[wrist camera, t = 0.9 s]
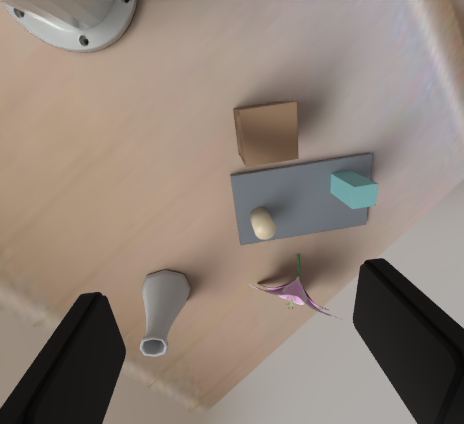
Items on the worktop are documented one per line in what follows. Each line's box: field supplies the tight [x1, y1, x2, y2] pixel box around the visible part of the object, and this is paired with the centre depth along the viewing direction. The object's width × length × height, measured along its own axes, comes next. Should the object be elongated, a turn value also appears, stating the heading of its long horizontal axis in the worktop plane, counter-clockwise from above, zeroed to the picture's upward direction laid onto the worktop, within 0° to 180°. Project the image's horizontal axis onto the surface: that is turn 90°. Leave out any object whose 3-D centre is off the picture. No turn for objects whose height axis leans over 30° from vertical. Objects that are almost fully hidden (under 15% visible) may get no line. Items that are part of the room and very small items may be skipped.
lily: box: [248, 254, 340, 319], centre depth 35 cm, size 12×12×10 cm
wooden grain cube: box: [233, 102, 298, 167], centre depth 26 cm, size 5×5×7 cm
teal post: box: [331, 171, 378, 209], centre depth 30 cm, size 3×3×6 cm
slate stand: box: [230, 153, 373, 245], centre depth 31 cm, size 10×18×5 cm, turn 98°
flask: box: [140, 270, 191, 357], centre depth 33 cm, size 7×7×10 cm
